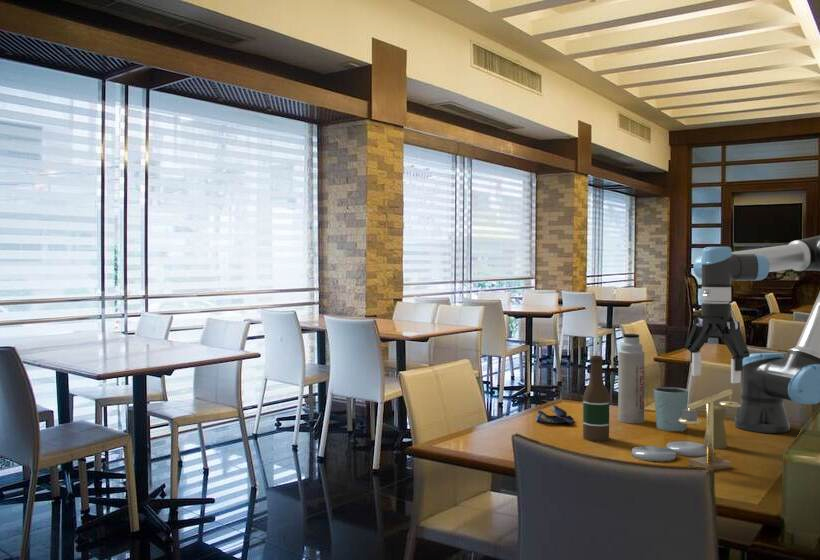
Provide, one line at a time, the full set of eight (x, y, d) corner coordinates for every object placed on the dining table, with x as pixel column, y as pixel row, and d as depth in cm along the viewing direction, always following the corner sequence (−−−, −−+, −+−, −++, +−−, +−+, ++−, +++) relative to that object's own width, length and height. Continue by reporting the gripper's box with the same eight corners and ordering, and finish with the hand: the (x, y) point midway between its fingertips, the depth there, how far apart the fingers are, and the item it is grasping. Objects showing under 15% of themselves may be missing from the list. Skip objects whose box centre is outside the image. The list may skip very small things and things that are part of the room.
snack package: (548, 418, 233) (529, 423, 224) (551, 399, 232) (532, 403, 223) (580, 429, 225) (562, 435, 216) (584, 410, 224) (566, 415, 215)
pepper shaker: (729, 449, 191) (730, 409, 191) (706, 448, 193) (706, 408, 192) (724, 443, 197) (724, 404, 197) (701, 442, 199) (701, 403, 198)
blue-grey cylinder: (677, 433, 209) (678, 393, 208) (646, 428, 216) (646, 389, 216) (694, 428, 215) (694, 389, 215) (663, 423, 223) (663, 385, 223)
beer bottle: (578, 435, 207) (579, 354, 206) (604, 435, 208) (604, 354, 207) (587, 442, 199) (587, 358, 199) (614, 441, 200) (614, 357, 199)
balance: (727, 458, 182) (727, 386, 181) (746, 465, 176) (747, 390, 176) (672, 467, 174) (672, 392, 174) (690, 474, 169) (691, 396, 168)
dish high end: (688, 444, 197) (688, 439, 197) (719, 453, 187) (719, 449, 187) (657, 448, 193) (657, 443, 192) (688, 458, 182) (688, 453, 182)
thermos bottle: (649, 421, 224) (650, 334, 224) (631, 424, 221) (631, 335, 220) (631, 417, 232) (631, 332, 231) (612, 419, 228) (613, 333, 227)
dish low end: (654, 448, 192) (654, 444, 192) (685, 458, 182) (685, 454, 182) (622, 453, 188) (622, 448, 188) (652, 463, 178) (652, 459, 178)
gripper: (672, 300, 204) (671, 373, 205) (743, 305, 181) (743, 387, 182) (691, 300, 207) (691, 371, 208) (764, 304, 184) (763, 385, 185)
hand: (715, 379), depth 195 cm, fingers open, 13 cm apart
